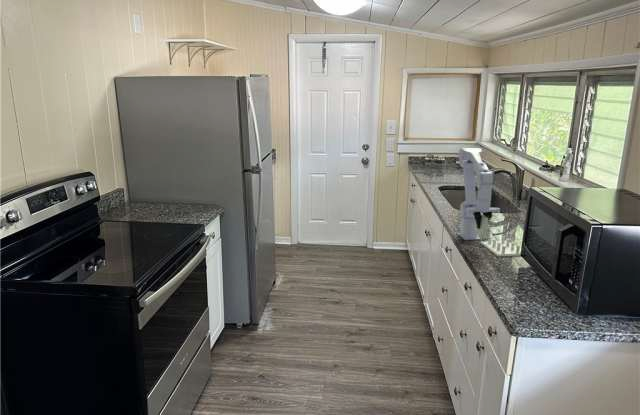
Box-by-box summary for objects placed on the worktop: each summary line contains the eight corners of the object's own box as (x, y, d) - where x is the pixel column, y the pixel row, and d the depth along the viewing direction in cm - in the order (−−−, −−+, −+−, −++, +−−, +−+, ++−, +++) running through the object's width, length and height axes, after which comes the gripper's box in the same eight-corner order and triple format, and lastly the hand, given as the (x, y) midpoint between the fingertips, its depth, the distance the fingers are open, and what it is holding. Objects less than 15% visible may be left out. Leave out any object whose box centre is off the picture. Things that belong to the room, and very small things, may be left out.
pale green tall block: (482, 237, 194) (484, 218, 192) (474, 231, 203) (476, 212, 200) (486, 237, 194) (488, 218, 192) (479, 231, 203) (480, 212, 200)
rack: (480, 243, 205) (481, 235, 204) (507, 242, 206) (508, 234, 205) (497, 256, 189) (498, 247, 188) (526, 255, 190) (527, 246, 189)
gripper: (470, 201, 190) (468, 231, 193) (503, 200, 190) (500, 230, 194) (465, 197, 197) (462, 226, 200) (497, 197, 197) (494, 226, 200)
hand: (481, 228), depth 197 cm, fingers closed on pale green tall block, 2 cm apart
